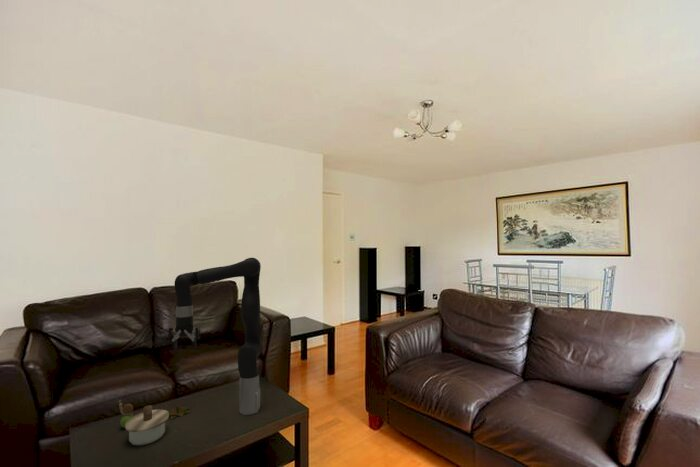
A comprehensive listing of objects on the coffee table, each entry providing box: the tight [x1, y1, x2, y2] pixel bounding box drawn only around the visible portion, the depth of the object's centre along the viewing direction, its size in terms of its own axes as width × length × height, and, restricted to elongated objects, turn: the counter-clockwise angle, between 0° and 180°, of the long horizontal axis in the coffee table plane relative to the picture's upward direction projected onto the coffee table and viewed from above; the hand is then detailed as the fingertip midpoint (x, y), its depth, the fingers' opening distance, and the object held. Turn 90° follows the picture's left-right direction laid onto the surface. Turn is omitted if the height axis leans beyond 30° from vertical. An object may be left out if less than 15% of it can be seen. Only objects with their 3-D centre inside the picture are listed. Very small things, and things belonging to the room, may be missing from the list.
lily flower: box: [167, 402, 191, 420], centre depth 160 cm, size 12×12×5 cm
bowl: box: [128, 422, 166, 446], centre depth 140 cm, size 13×13×6 cm
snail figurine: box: [118, 400, 134, 429], centre depth 148 cm, size 5×6×12 cm
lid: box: [124, 404, 170, 432], centre depth 140 cm, size 16×16×6 cm
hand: (184, 348), depth 157 cm, fingers open, 8 cm apart
